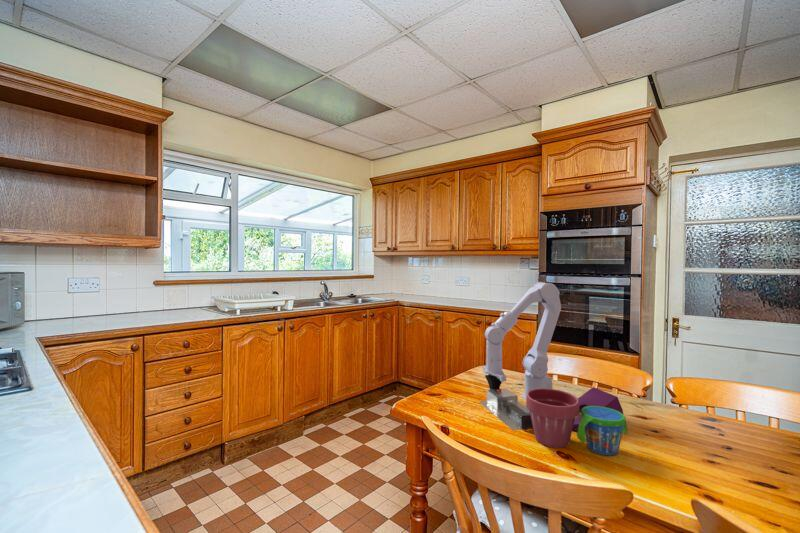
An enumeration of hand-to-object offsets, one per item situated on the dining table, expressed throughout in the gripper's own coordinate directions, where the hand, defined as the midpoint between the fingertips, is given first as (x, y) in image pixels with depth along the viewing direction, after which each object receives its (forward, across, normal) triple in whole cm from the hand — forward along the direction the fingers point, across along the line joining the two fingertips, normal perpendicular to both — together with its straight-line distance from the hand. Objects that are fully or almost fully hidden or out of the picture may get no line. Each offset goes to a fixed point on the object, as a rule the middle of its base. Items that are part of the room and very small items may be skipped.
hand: (494, 394), depth 138 cm
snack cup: (+2, +41, +11) cm, 43 cm away
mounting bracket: (+2, +26, +19) cm, 32 cm away
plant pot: (+2, +33, +1) cm, 33 cm away
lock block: (+1, +6, 0) cm, 6 cm away
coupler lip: (+2, +13, 0) cm, 13 cm away
